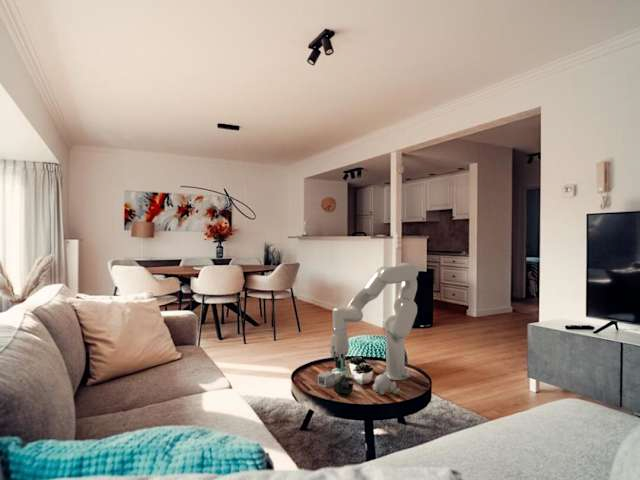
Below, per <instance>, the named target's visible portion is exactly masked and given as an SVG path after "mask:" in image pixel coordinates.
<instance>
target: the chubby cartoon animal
mask: <svg viewBox="0 0 640 480" xmlns="http://www.w3.org/2000/svg"><path fill="white" fill-rule="evenodd" d="M396 381H397V380H393V381H391V379H389V377H388V376H386V375H384V374H383V373H381V374H379V375H376V376H375V379H374V383H373V384H372V390H373V392H376V393H378V394H380V395H381V396H383V395H385V392H386V391H387V390H389V392H392V394H395V395H396V394H398V393H399V392H400V388H399V387H397V383H396Z"/></svg>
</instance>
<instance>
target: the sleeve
mask: <svg viewBox="0 0 640 480" xmlns="http://www.w3.org/2000/svg"><path fill="white" fill-rule="evenodd" d="M335 383H336V380H335V373H332V371H329V370H326V371H324V372H321V373H318V374H317V386H320V387H323V388H324V389H325V388H328V387H331V386H334V384H335Z"/></svg>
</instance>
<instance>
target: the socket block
mask: <svg viewBox="0 0 640 480" xmlns="http://www.w3.org/2000/svg"><path fill="white" fill-rule="evenodd" d="M350 370H351V369H350V367H348V366H345V367H344V371H342V372H340V377H341V376H342V375H345V377H350V376H351V371H350ZM335 371H337V368H336V367H335V368H333V369H331V372H335ZM337 380H338V379H337ZM337 380H336V381H337Z"/></svg>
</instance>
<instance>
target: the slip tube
mask: <svg viewBox="0 0 640 480" xmlns="http://www.w3.org/2000/svg"><path fill="white" fill-rule="evenodd" d="M340 361H341V368H340V369H339V368H337V371H335V372H332V371H331V372H332V373H335V381H337V379H339V378H340V372H342V371H344V358H340Z"/></svg>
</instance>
